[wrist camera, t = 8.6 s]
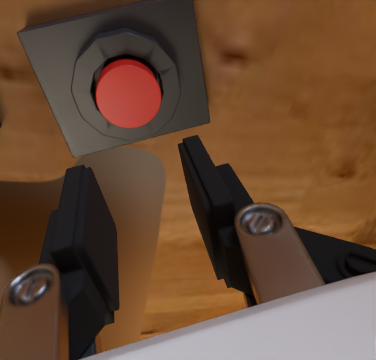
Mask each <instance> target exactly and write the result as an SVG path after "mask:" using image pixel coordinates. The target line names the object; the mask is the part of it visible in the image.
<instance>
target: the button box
mask: <svg viewBox="0 0 376 360" xmlns="http://www.w3.org/2000/svg"><path fill="white" fill-rule="evenodd" d="M17 35H18V37H19V39H20V41H21V43H22V46H23V48H24V50H25V52H26V54H27V57H28V59H29V61H30V63H31V65H32V68H33V70H34V72H35V74H36V76H37V79H38V81H39V83H40V85H41V87H42V90H43V92H44V94H45V96H46V99H47V101H48V103H49V105H50V107H51V110H52V112H53V114H54V116H55V118H56V121H57V123H58V125H59V127H60V129H61V132H62V134H63V136H64V138H65V140H66V143H67V145H68V147H69V149H70V151H71V154H72V156H73V158H75V157H79V156H83V155H87V154H90V153H95V152H98V151H102V150H106V149H110V148H114V147H118V146H122V145H126V144H129V143H133V142H137V141H141V140H145V139H149V138H153V137H156V136H160V135H164V134H168V133H172V132H176V131H180V130H184V129H187V128H191V127H195V126H199V125H203V124H207V123H210V116H209V109H208V103H207V96H206V89H205V82H204V75H203V68H202V61H201V54H200V47H199V40H198V34H197V27H196V20H195V13H194V6H193V0H145V1H141V2H136V3H132V4H127V5H123V6H118V7H114V8H110V9H105V10H101V11H96V12H92V13H87V14H83V15H78V16H74V17H69V18H65V19H60V20H56V21H51V22H47V23H42V24H38V25H34V26H29V27H25V28H23V29H22V30H20V31H19V32H17ZM118 59H133V60H137V61H139V62H141V63H143V64H145V65H146V66H147V67H148V68H149V69H150V70H151V71H152V72H153V74H154V76H155V78H156V80H157V82H158V84H159V87H160V90H161V105H160V108H159V111H158V112H157V114H156V116H155V117H154V118H153V119H152V120H151V121H150V122H148V123H147V124H145V125H143V126H140V127H137V128H122V127H119V126H116V125H114V124H112V123H110V122H109V121H108V120H107V119H105V118H104V116H103V115H102V114H101V112H100V111H99V109H98V106H97V103H96V85H97V80H98V77H99V74H100V73H101V71H102V70H103V69H104V67H106V66H107V65H108V64H109V63H111V62H113V61H115V60H118Z"/></svg>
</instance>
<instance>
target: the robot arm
mask: <svg viewBox="0 0 376 360" xmlns="http://www.w3.org/2000/svg"><path fill="white" fill-rule="evenodd" d="M178 148H179V153H180V157H181V162H182V166H183V171H184V175H185V180H186V184H187V189H188V194H189V198H190V202H191V206H192V210H193V213H194V215H195V218H196V221H197V224H198V226H199V229H200V232H201V235H202V237H203V240H204V243H205V246H206V249H207V251H208V254H209V257H210V260H211V262H212V265H213V268H214V271H215V274H216V276H217V279H218V280H220V279H224V280H225V283H226V285H227V288H230V287H232V288H235V289H237V290H239V291H242V292H243V296H244V300H245V303H246V307H247V308H246V309H242V310H239V311H236V312H232V313H229V314H226V315H223V316H219V317H216V318H213V319H209V320H206V321H203V322H200V323H196V324H193V325H190V326H186V327H183V328H180V329H177V330H173V331H170V332H167V333H164V334H160V335H157V336H154V337H151V338H147V339H144V340H141V341H138V342H135V343H131V344H128V345H125V346H122V347H118V348H115V349H112V350H109V351H105V352H102V349H101V339H100V336H99V332H100V331H101V329H102V328H103V327H104V326H105V325H108V324H111V323H114V311H116V310H119V284H118V283H119V281H118V254H117V231H116V226H115V223H114V221H113V218H112V216H111V213H110V211H109V209H108V206H107V204H106V201H105V199H104V197H103V195H102V192H101V190H100V187H99V185H98V183H97V180H96V178H95V175H94V173H93V171H92V169H91V168H90V167H89V168H85V166H84V165H80V166H76V167H72V168H68V169H67V170H66V173H65V178H64V184H63V188H62V193H61V197H60V202H59V207H58V209H56V210H53V211H52V212H51V214H50V218H49V222H48V227H47V231H46V235H45V239H44V243H43V247H42V252H41V256H40V260H39V264H37V265H34V266H31V267H29V268H27V269H25V270H23V271H22V272H20V273H19V274H17V275H16V276H15V277H14V278H13V279H12V280H11V281H10V282H9V284H8V285H7V287H6V288H5V290H4V293H3V296H2V300H1V305H0V360H376V250H375V249H372V248H369V247H367V246H363V245H359V244H356V243H352V242H348V241H345V240H341V239H337V238H334V237H330V236H326V235H322V234H319V233H315V232H311V231H308V230H304V229H300V228H297V227H293V225H292V223H291V221H290V219H289V218H288V216H287V214H286V213H285V212H284V211H283V209H281V208H279V207H278V206H276V205H273V204H270V203H254V202H253V200H252V199H251V197H250V196H249V194H248V193H247V191H246V189H245V188H244V186H243V185H242V183H241V182H240V180H239V178H238V177H237V175H236V174H235V172H234V171H233V169H232V168H231V166H230V165H229V164H228V163H227V164H223V165H219V166H215V165H214V163H213V162H212V160H211V158H210V156H209V154H208V153H207V151H206V149H205V147H204V146H203V144H202V142H201V140H200V138H199V137H198V135H195V136H191V137H187V138H184V139H183V143H180V144H178Z"/></svg>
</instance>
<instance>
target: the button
mask: <svg viewBox="0 0 376 360" xmlns="http://www.w3.org/2000/svg"><path fill="white" fill-rule="evenodd" d="M96 103H97V106H98V109H99V111H100V112H101V114H102V115H103V116H104V118H105V119H107V120H108V121H109V122H110V123H112V124H114V125H116V126H119V127H122V128H137V127H140V126H143V125H145V124H147V123H148V122H150V121H151V120H152V119H153V118H154V117H155V116H156V114H157V112H158V111H159V108H160V105H161V90H160V87H159V84H158V82H157V80H156V78H155V76H154V74H153V72H152V71H151V70H150V69H149V68H148V67H147V66H146V65H145V64H143V63H141V62H139V61H137V60H133V59H118V60H115V61H113V62H111V63H109V64H108V65H107V66H106V67H104V69H103V70H102V71H101V73H100V74H99V77H98V80H97V85H96Z"/></svg>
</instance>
